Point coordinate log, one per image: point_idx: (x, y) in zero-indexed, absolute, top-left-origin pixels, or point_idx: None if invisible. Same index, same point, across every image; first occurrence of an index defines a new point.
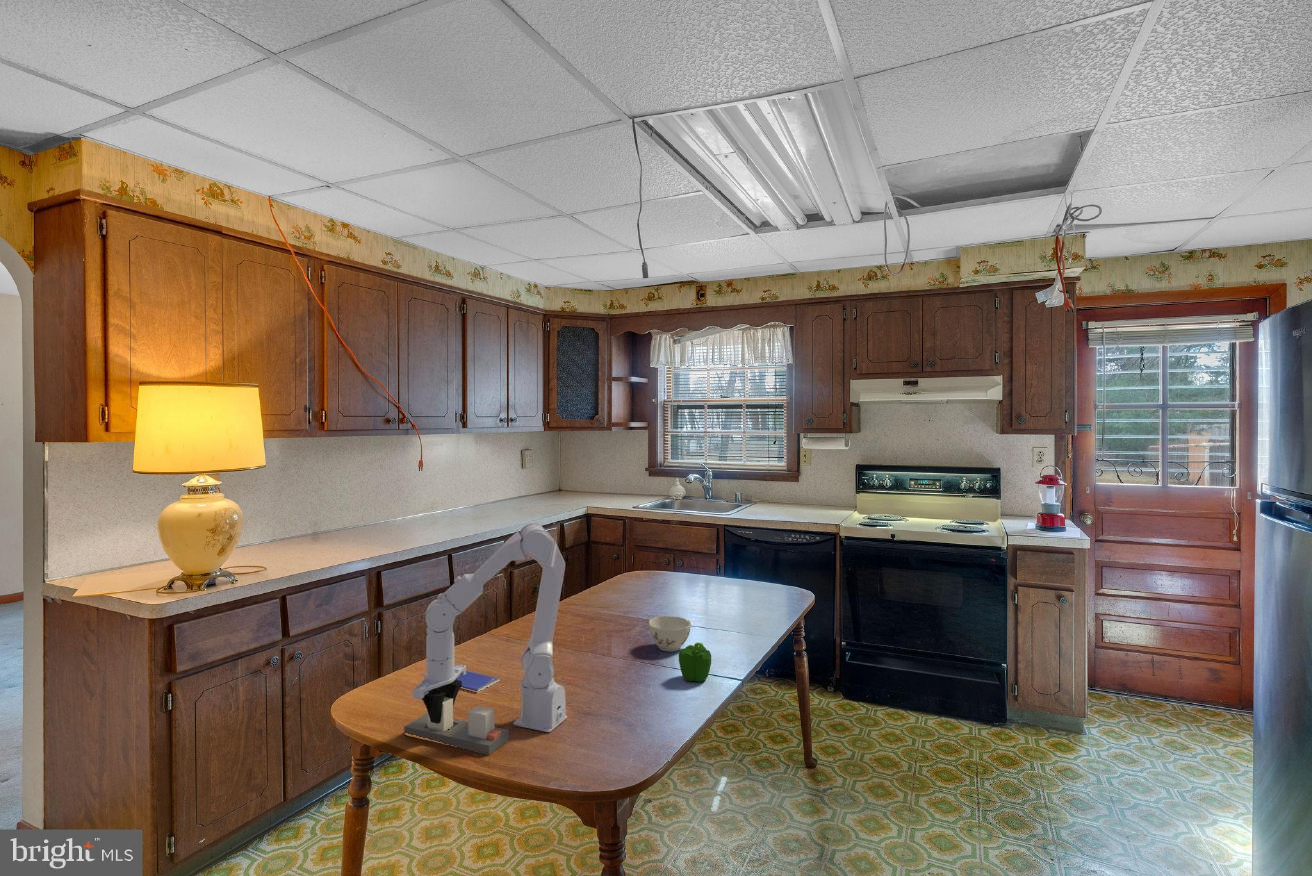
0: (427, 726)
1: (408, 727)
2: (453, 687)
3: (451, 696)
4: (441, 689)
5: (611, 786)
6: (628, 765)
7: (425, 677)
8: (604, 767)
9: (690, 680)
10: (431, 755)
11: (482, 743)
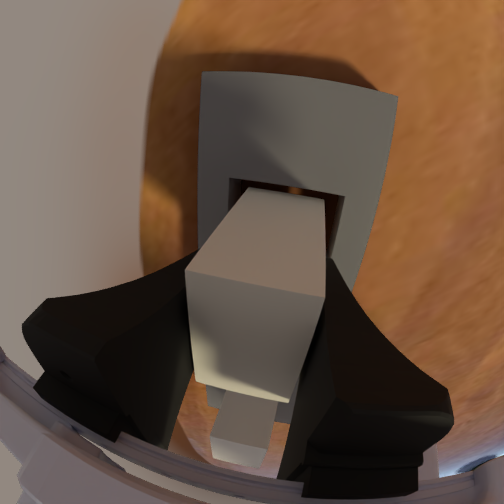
0: (245, 191)
1: (200, 100)
2: (279, 472)
3: (295, 405)
4: (315, 389)
5: (215, 464)
6: (262, 475)
7: (48, 472)
8: (249, 467)
9: (474, 469)
10: (147, 270)
11: (209, 396)
